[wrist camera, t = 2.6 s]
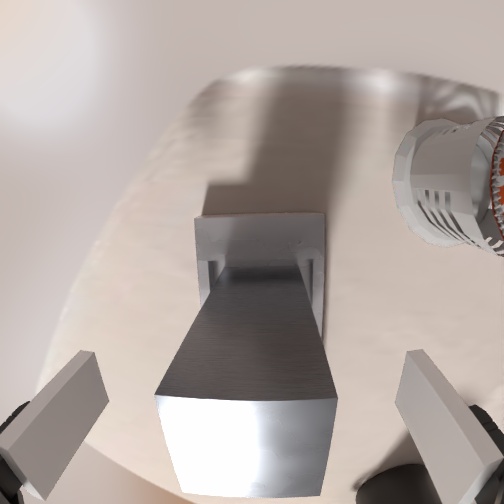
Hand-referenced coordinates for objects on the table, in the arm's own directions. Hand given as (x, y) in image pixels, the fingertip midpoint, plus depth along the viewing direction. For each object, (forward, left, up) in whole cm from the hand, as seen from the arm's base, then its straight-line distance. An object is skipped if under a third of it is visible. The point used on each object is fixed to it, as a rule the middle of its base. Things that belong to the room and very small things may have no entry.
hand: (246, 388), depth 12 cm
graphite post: (0, 0, -10) cm, 10 cm away
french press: (-15, -8, -11) cm, 20 cm away
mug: (-14, +26, -11) cm, 32 cm away
